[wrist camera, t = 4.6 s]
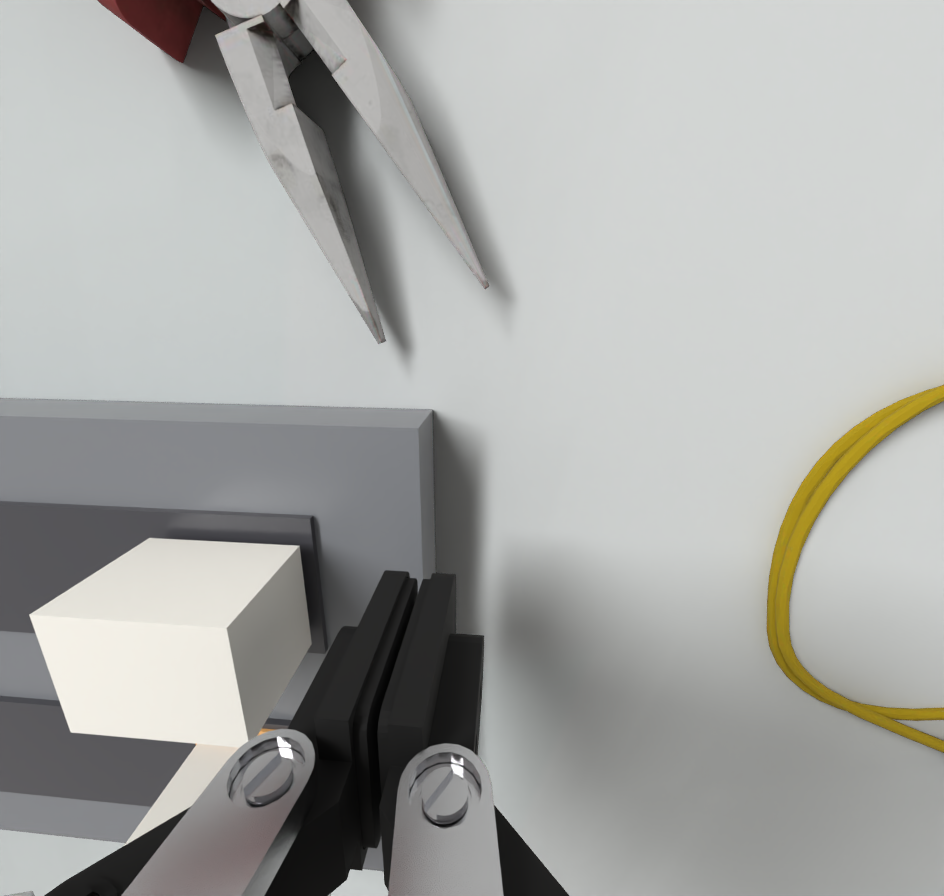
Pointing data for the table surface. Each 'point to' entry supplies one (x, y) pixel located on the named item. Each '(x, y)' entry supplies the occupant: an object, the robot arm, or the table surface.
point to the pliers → (292, 132)
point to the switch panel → (185, 518)
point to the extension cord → (793, 539)
